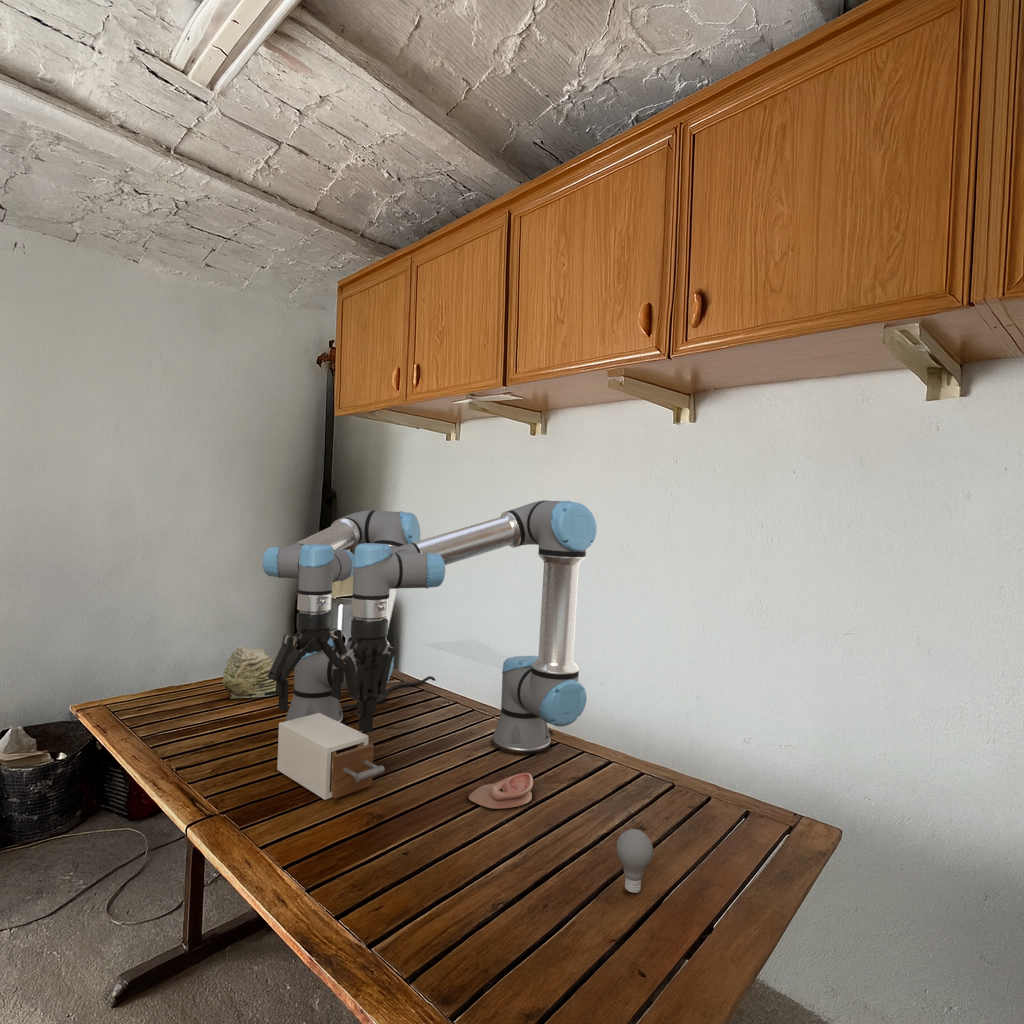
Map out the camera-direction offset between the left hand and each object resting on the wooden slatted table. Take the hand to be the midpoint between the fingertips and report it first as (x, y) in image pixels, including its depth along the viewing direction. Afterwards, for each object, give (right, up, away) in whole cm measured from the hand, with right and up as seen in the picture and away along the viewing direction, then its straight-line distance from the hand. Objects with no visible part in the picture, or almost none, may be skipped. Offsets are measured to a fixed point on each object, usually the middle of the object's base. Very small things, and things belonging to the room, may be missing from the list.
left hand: (310, 703), depth 146 cm
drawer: (+8, -15, -7) cm, 19 cm away
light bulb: (+67, -19, -40) cm, 80 cm away
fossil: (-34, -13, +52) cm, 63 cm away
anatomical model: (+44, -18, -9) cm, 48 cm away
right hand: (+16, -1, -14) cm, 21 cm away
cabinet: (+3, -16, -3) cm, 16 cm away
